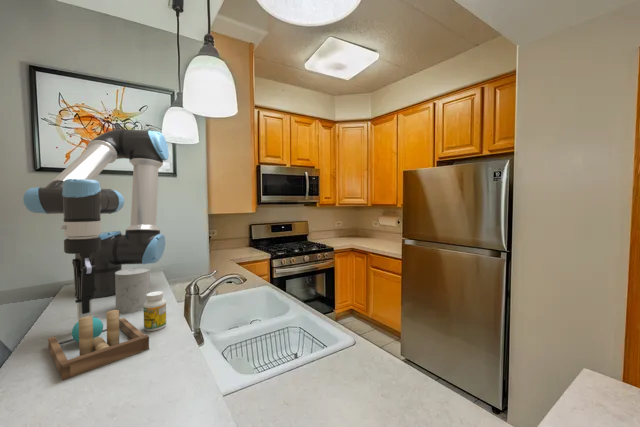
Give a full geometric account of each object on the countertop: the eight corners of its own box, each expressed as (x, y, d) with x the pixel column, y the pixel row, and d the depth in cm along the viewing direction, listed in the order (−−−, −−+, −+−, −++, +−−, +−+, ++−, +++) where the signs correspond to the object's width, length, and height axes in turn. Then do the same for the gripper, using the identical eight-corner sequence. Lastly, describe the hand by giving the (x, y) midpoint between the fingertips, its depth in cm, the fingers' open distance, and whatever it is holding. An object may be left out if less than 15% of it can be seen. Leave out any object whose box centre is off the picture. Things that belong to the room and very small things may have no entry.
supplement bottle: (170, 324, 78) (170, 291, 78) (155, 332, 73) (155, 297, 73) (154, 322, 80) (154, 289, 79) (138, 330, 74) (138, 295, 74)
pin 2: (105, 346, 66) (105, 312, 66) (117, 342, 68) (117, 309, 67) (108, 350, 64) (108, 314, 64) (120, 346, 66) (120, 311, 66)
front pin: (90, 338, 65) (99, 351, 60) (102, 335, 67) (113, 346, 62) (90, 348, 65) (100, 361, 60) (103, 344, 67) (113, 357, 62)
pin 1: (78, 355, 62) (77, 318, 62) (92, 351, 64) (91, 315, 64) (80, 359, 60) (80, 321, 60) (94, 354, 62) (93, 318, 62)
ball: (71, 331, 63) (75, 352, 65) (103, 320, 68) (107, 340, 69) (67, 318, 67) (72, 339, 69) (98, 308, 71) (101, 328, 73)
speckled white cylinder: (156, 303, 95) (156, 268, 94) (135, 314, 85) (135, 275, 85) (131, 302, 96) (130, 267, 95) (107, 312, 86) (106, 274, 86)
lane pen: (48, 348, 65) (48, 336, 65) (124, 326, 77) (124, 316, 76) (62, 380, 53) (61, 365, 53) (149, 348, 65) (148, 336, 65)
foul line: (54, 344, 67) (54, 343, 67) (117, 326, 77) (117, 325, 77) (54, 345, 66) (54, 344, 66) (118, 327, 76) (118, 326, 76)
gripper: (59, 236, 74) (61, 321, 75) (68, 240, 66) (71, 336, 67) (94, 234, 80) (96, 313, 81) (107, 237, 72) (108, 326, 73)
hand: (84, 323), depth 74 cm, fingers closed
